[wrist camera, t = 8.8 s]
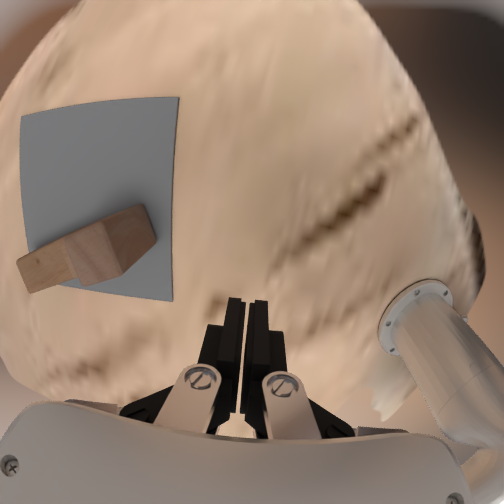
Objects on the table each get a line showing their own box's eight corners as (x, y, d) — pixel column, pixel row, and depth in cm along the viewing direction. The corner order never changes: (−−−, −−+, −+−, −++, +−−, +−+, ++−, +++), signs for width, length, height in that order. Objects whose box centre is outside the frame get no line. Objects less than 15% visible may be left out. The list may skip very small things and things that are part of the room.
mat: (179, 97, 23) (178, 97, 23) (173, 300, 31) (172, 301, 31) (23, 116, 22) (21, 116, 21) (36, 278, 30) (35, 280, 30)
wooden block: (100, 220, 18) (-10, 275, 20) (122, 277, 19) (6, 312, 21) (144, 202, 26) (35, 249, 28) (158, 243, 28) (48, 280, 29)
